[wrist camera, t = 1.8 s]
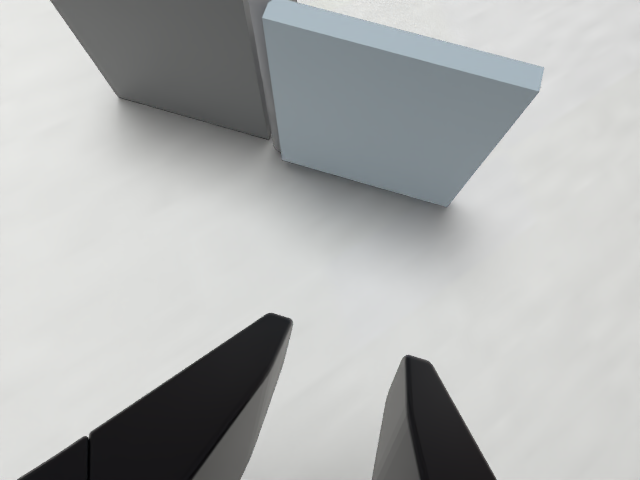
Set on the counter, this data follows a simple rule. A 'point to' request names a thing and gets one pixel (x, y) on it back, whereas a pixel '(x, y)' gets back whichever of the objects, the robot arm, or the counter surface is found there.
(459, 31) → the counter surface
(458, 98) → the side door
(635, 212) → the counter surface
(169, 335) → the counter surface
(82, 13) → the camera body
